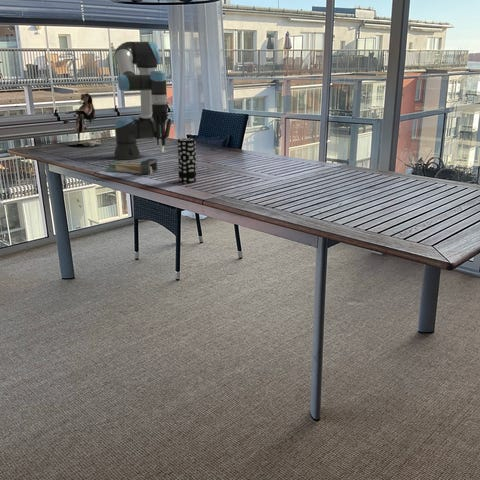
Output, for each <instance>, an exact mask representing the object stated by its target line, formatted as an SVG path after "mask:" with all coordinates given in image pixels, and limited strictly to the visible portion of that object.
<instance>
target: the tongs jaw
mask: <svg viewBox="0 0 480 480" xmlns="http://www.w3.org/2000/svg"><path fill="white" fill-rule="evenodd" d="M112 163H116V164H127V165H140V166H141V162H139V163H137V162H136V163H133V162H124V161H112Z"/></svg>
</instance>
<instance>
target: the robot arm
mask: <svg viewBox="0 0 480 480" xmlns="http://www.w3.org/2000/svg"><path fill="white" fill-rule="evenodd" d="M113 56H114V58H113V59H114V61H115V63H116V64H117V66H118V71H119V75H118V76H117V85H118V90H119V91H124V92H125V91H126V92H127V91H128V92H129V91H139V92H140V114H139V115H138V118H136V117H135V116H126V117H120V118H117V119H116V120H115V121H114V125H115V126H114V129H115V141H116V146H115V150H114V154H113V155H114V156H113V157H114V159H116V160H125V161H126V160H136V159H140V158H141V152H140V149H139V147H138V145H137V143H138V142H137V140H153V139H154V140H155V139H156V143H157V145H156V146H158V152H159V153H164V152H165V146H166V139H167V138H169V136H170V132H171V127H172V126H171V125H172V122H173V120H174V119H173V118H171V117H170V116H169V114H168V104H167V103H168V96H167V95H168V94H167V93H168V92H167V74H166V71H165V70H157V69H158V65H159V64H161V58H160V51H159V47H158V44H157V43H156V42H154V41H126V42H123V43H121V44H120V45H118V46H117V48H116V49H115V50H114V55H113ZM134 65H136V69H137V70H138V71H139V74H136V70H135V67H134Z"/></svg>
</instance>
